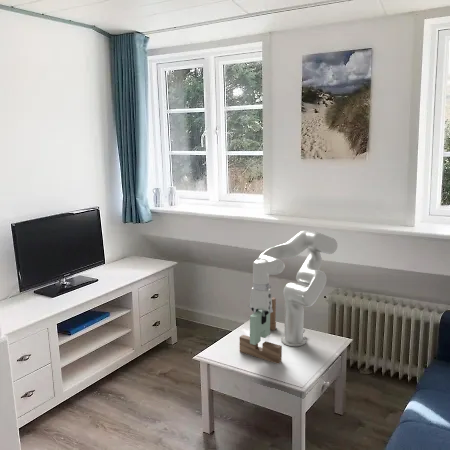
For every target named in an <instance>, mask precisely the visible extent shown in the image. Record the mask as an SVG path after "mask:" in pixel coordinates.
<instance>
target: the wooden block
mask: <svg viewBox="0 0 450 450" xmlns="http://www.w3.org/2000/svg"><path fill="white" fill-rule="evenodd" d="M276 305H277V298H276V297H274V296H273V297H272V309H273V312H272V313H270V331H276V329H277V322H276V316H277V313H276V311H277V306H276ZM259 310H260V309H259Z"/></svg>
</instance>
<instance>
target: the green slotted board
mask: <svg viewBox="0 0 450 450" xmlns="http://www.w3.org/2000/svg"><path fill="white" fill-rule="evenodd" d="M267 311H269V309H268V310H267ZM262 316H263V314H262V310H259V311H257V312H255V313H252V314H250V316H249V337H250V344H253V345H256V344H257V343H258V344H259V343H260V342H261V338H263V339H266V338H267V337H269V336H271V330H270V313H269V314H267V315H266V323H264V324H262Z"/></svg>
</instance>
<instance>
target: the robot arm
mask: <svg viewBox="0 0 450 450" xmlns="http://www.w3.org/2000/svg"><path fill="white" fill-rule="evenodd" d="M305 250H307V255H306V258H305V260H304V262H303V263H302V265H301V267H300V268H299V270H298V271H297V273H296V276H295V280H296V281H297V282H288V283H286V285H285V286H284V287H283V299H284V335H283V336H281V339H280V340H281V343H282V344H284V345H286V346H289V347H301V346H303V345H305V344H306V342H307V341H306V338H305V336H304V333H305V332H306V330H305V329H304V316H305V315H304V311H305V309H304V307H307V308H308V307H311V306H313V305H314V304H315V303H316V301H317V300H318V298H319V296H320V295H321V293H322V292H323V290H324V288H325V286H326V285H327V279H328V278H327V275H326V273H325V271H322V270H320V268H321V267H322V265H323V258H322V255H321V253H322V254H326V255H332V254H333V255H334V253H336V252H337V250H338V241H337V240H336V239H335V238H333V237H331V236H328V235H326V234H324V233H320V232H316V231H313V230H308V229H305V230H301V231H299V232H297V234H295V235H294V236H293V237H291V238H290V239H289V240H287V242H285V243H282V244H281V243H280V244H279V245H275V246H272V247H268V249H266V250H265V251H263V252H262V253H261V254H260V255H259V256H258V257H257V259H256V260H255V261H253V262H252V287H251V290H250V295H249V297H250V298H249V304H248V305H247V307H248V308H249V309H251V311H252V312H253V313H252V314H254V313H255V312H257V311H259V309H260V310H262V314H263V316H262V324H264V323H266V315H267V314H269V313H272V312H273V309H272V291H271V288H272V285H270V279H269V278H270V275H279V274H281V273H282V272H283V271H284V270H285V267H286V266H285V263H284V262H285V261H283V260H284V259H293V258H297V257H298V256H299V255H300V254H302V253H303V252H304V251H305ZM282 259H283V260H282ZM268 309H269V311H267V310H268Z"/></svg>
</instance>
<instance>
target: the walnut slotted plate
mask: <svg viewBox="0 0 450 450" xmlns="http://www.w3.org/2000/svg"><path fill="white" fill-rule="evenodd" d="M261 344H262V345H261V346H259V343H257V344H256V345H253V344H250V335H249V336H248V335H245V334H241V335H240V336H239V353H243V354H245V355H249V356H252V357H255V358H259V359H261V360H265V361H268V362H271V363H274V364H277V365H279V364H280V363H282V358H283V357H282V355H283V352H282V351H283V350H282V348H283V346H282V345H280V344H278V343H277V344H276V343H274V342H273V343H272V342H269V341H266V340H265V341H264V342H262V343H261Z"/></svg>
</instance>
